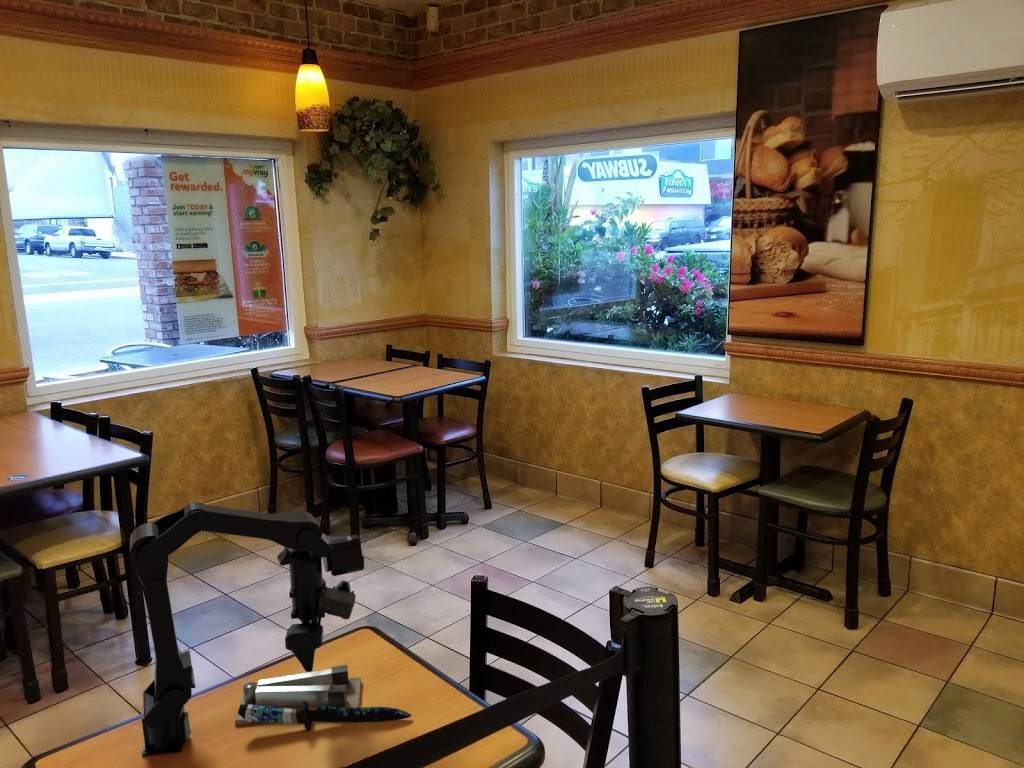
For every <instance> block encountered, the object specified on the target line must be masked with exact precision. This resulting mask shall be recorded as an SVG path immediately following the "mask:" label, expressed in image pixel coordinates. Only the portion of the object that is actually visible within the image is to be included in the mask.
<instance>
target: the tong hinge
mask: <svg viewBox="0 0 1024 768" xmlns="http://www.w3.org/2000/svg"><path fill="white" fill-rule="evenodd" d="M257 687H258V684H257V683H256V682H255V681H249V682H245V683H244V684H243V686H242V692H243V693H242V694H244V703H245V704H251V705H252V704H255V703H256V696H255V691H256V689H257Z"/></svg>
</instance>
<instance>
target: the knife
mask: <svg viewBox="0 0 1024 768" xmlns="http://www.w3.org/2000/svg"><path fill="white" fill-rule="evenodd" d="M239 706H240V707H239ZM239 706H238V709H239V711H238V710H237V712H238V714H239V715H240V716H241V717H242V718H244V719H245V720H247V721H248V722H262V723H271V724H273V723H275V724H298V725H303V727H304V728H305V731H306V733H309V732H311V729H312V726H313V725H312V724H313V723H329V724H330V723H331V724H333V723H334V724H337V723H338V724H339V723H340V724H343V723H344V724H345V723H346V724H349V723H350V724H351V723H353V724H357V723H359V724H360V723H361V724H362V723H378V722H391V721H392V722H394V721H401V720H405V719H408V718H410V717H412V714H411V713H409V712H408V711H405V710H403V709H400V708H396V707H395V708H394V707H390V706H389V707H388V706H387V707H386V706H371V707H370V706H368V707H367V706H366V707H362V706H361V707H359V708H339V707H332V706H328V705H324V704H321V703H320V706H319V708H318V709H316V710H309V708H308V705H307V702H306V701H302V705H301V708H300V709H287V708H277V707H268V706H259V705H251V704H241V705H240V704H239Z"/></svg>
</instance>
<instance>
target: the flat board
mask: <svg viewBox="0 0 1024 768" xmlns="http://www.w3.org/2000/svg"><path fill="white" fill-rule="evenodd" d="M348 682H349V685H346V689H347V701H346V704H345V706H340V707H339V708H360V698H361V684H362V677H361V676H359V677H348ZM241 704H245V703H244V693H242V697H241V700H240V703H239V705H238V709H237V712H236V715H235V718H234V725H235V726H238V725H240V726H241V725H248V724H249V725H251V724H261V723H262V724H263V722H248V721H247V720H245V719H244V718H242V717H241V716H240V715H239V714H238V711H239V707H240V705H241ZM252 705H256V703H255V704H252ZM319 706H320V705H308V708H309V710H316V709H318V708H319ZM328 706H329V705H328ZM268 707H277V708H287V709H300V708H301V705H296V706H268Z"/></svg>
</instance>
